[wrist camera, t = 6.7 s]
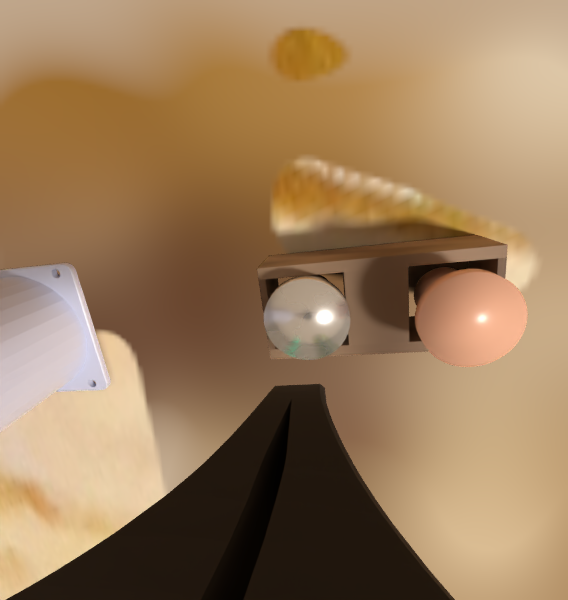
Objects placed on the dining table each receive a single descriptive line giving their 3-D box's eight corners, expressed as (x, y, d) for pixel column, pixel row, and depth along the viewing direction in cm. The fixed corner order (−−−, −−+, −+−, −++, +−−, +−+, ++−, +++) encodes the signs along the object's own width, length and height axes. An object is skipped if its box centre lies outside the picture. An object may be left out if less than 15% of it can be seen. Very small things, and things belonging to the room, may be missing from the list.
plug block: (279, 333, 19) (270, 359, 16) (268, 255, 18) (257, 268, 15) (472, 321, 17) (500, 347, 14) (476, 234, 16) (507, 244, 13)
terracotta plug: (401, 332, 16) (419, 369, 13) (399, 258, 15) (418, 277, 12) (482, 327, 16) (522, 364, 12) (486, 249, 15) (532, 267, 11)
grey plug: (281, 330, 18) (269, 361, 15) (271, 265, 17) (258, 283, 14) (348, 326, 18) (352, 357, 14) (344, 258, 17) (347, 275, 13)
